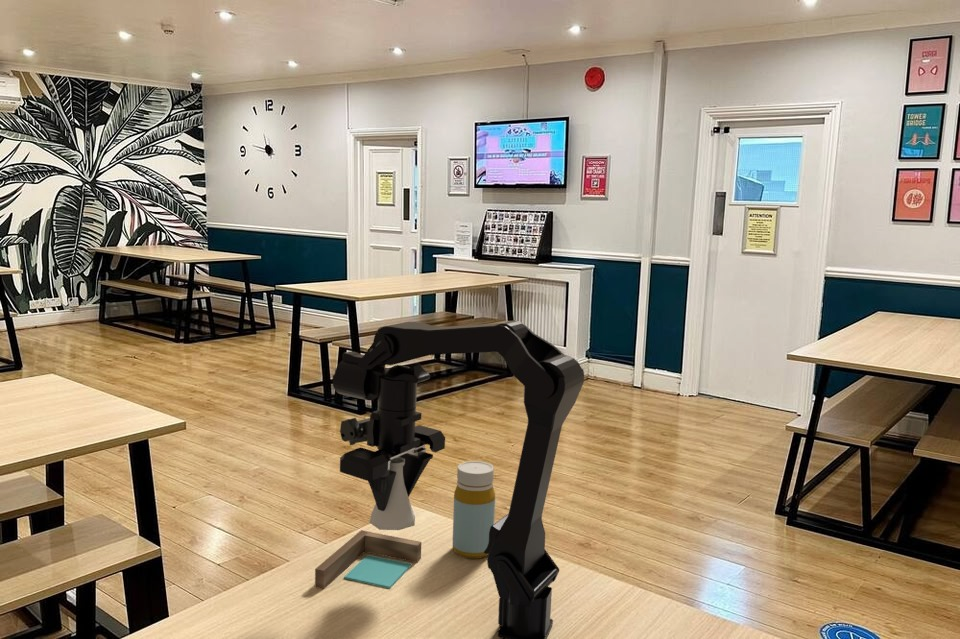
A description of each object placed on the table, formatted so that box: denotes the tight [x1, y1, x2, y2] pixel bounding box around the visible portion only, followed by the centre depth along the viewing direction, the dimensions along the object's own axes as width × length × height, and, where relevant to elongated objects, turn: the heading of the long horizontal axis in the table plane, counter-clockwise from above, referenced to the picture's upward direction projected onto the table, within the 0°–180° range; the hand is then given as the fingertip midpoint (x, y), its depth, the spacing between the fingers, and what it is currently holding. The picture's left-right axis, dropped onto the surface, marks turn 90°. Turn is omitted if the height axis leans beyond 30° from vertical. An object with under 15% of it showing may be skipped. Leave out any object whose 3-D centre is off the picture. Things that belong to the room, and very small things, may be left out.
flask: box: [369, 457, 416, 531], centre depth 112 cm, size 7×7×10 cm
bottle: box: [452, 460, 496, 559], centre depth 126 cm, size 7×7×15 cm
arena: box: [314, 530, 422, 590], centre depth 118 cm, size 11×15×3 cm
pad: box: [343, 554, 412, 589], centre depth 118 cm, size 8×8×1 cm
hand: (393, 504), depth 113 cm, fingers closed on flask, 5 cm apart
